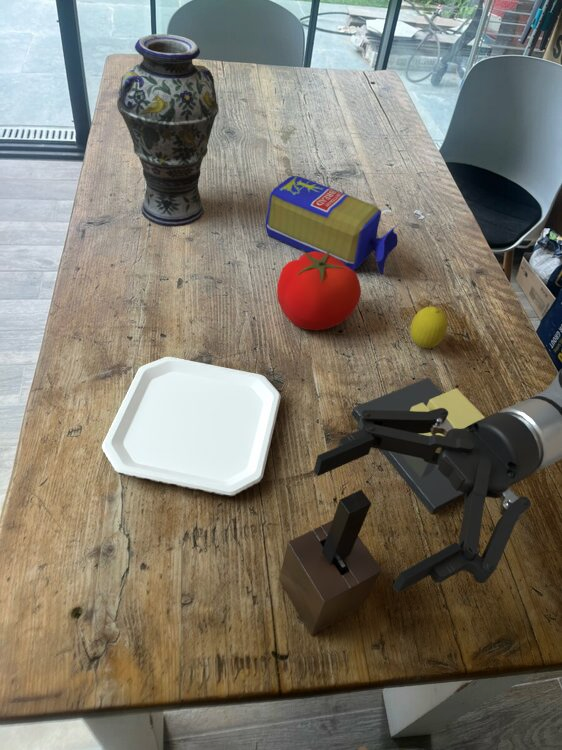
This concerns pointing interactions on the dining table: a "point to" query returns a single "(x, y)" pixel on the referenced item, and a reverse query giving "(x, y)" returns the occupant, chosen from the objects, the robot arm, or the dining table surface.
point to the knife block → (326, 579)
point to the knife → (345, 528)
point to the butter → (456, 408)
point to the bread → (327, 223)
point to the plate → (194, 426)
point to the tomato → (317, 291)
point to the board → (413, 470)
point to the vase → (169, 125)
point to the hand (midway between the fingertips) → (355, 520)
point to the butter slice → (424, 408)
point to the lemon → (428, 327)
